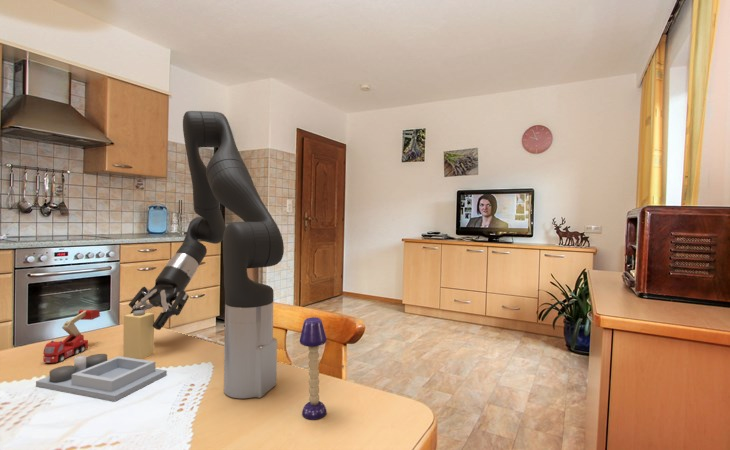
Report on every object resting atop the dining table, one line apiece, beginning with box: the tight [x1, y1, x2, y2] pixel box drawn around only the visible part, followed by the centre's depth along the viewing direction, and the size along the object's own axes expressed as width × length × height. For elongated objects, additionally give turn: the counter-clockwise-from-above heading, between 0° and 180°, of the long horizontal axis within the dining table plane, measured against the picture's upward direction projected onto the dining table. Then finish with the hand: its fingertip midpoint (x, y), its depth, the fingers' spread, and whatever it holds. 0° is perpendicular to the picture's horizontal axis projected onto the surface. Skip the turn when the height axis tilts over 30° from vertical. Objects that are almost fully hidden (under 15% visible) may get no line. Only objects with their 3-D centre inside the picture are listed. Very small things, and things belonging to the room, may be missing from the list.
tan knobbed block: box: [122, 310, 155, 360], centre depth 90 cm, size 5×4×11 cm
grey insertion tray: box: [35, 353, 168, 402], centre depth 76 cm, size 20×12×4 cm, turn 74°
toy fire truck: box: [42, 309, 101, 364], centre depth 90 cm, size 3×14×10 cm, turn 179°
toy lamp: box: [299, 316, 327, 421], centre depth 64 cm, size 5×5×17 cm
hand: (142, 326), depth 90 cm, fingers open, 8 cm apart
